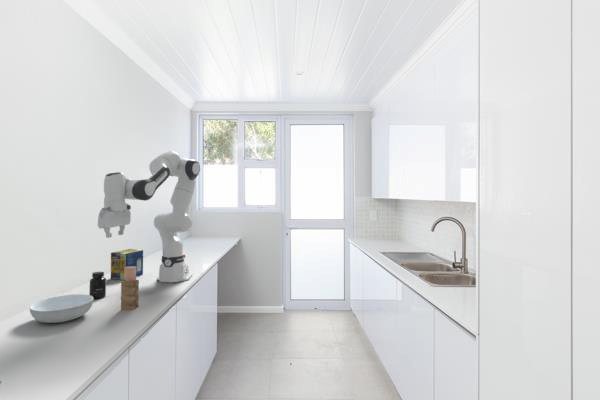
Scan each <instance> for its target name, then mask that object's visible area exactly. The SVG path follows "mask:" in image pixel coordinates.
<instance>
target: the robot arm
mask: <svg viewBox="0 0 600 400" xmlns="http://www.w3.org/2000/svg"><path fill="white" fill-rule="evenodd" d="M148 166H149V172H150V173H151V176H150V177H149V178H145V179H131V178H128V177H127V176H125V174H124V173H123V172H116V171H115V172H109V173H107V174H105V176H104V180H103V193H104V198H103V207H102V208H101V209H100V210H99V213H98V218H97V227H98V229H103V231H104V233H105V238H107V239H109V238H112V235H113V234H112V232H111V228H116V227H119V231H118V234H117V235H119V236H123V235H124V234H125V233H124V231H125V229H126V226H127V225H130V224H131V219H132V218H131V209H132V206H131V204H128V203H127V202H126V200H134V201H135V200H138V201H149V200H151V199H152V198H153V196H154V195H155V193H156V191H157V190H158V189H159V188H160V187H161V186H162V185H163V184H164V183H165V182H166V180H167V179H168V178H169V177H175V178H177V182H176V184H175V187H174V189H173V192H172V195H171V196H170V204H171V206H172V212H162V213H159V214H157V215H156V216H155V217H154V220H153V225H154V228H156V229H157V231H158V232H159V235H160V238H161V242H162V255H161V264H160V265H159V270H158V277H156V280H157V281H159V282H161V283H179V282H185V281H189V280H190V279H191V278H192V277H193V275H194V274H193V273H192V272H189V271H190V267H189V265H188V264H187V263H186V262H185V258H186V254H183V253H184V252H183V250H184V248H183V246H184V244H183V240H182V239H181V238H180V236H179V234H181V233H182V234H183V233H187V232H188V231H191V228H192V227H193V219H192V217H191V216H190V204H191V202H192V199H193V194H194V192H195V187H196V178H197V177H198V176H199V174H200V171H201V166H200V162H198V161H197V160H196V159H191V158H190V159H189V158H183V157H182V158H181V156H180V155H179V154H178V153H177V152H175V151H172V150H170V151H167V152H163V153H162V154H160V155H158V156H156V157H155V158H154V159H152V160H151V161H150V163H149V165H148ZM178 233H179V234H178Z"/></svg>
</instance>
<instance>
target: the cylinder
mask: <svg viewBox="0 0 600 400" xmlns="http://www.w3.org/2000/svg"><path fill="white" fill-rule="evenodd" d="M136 280H137V277H136V267H135V266H128V267H125V268H124V280H123V281H124V282H134V281H136Z"/></svg>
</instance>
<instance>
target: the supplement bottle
mask: <svg viewBox="0 0 600 400" xmlns="http://www.w3.org/2000/svg"><path fill="white" fill-rule="evenodd" d="M104 276H105V272H104V271H94V272H92V275H91V278H90V279H89V294H88V295H90V296H92V297H93V298H94V299H93V300H100V299H103V298H105V297H106V295H107V278H106V277H104Z"/></svg>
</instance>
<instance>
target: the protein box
mask: <svg viewBox="0 0 600 400" xmlns="http://www.w3.org/2000/svg"><path fill="white" fill-rule="evenodd" d="M128 266H135V267H136V276H137V277H140V276H142V274H144V250H143V249H137V248H136V249H134V248H127V249H123V250H118V251H113V252H110V279H111V280H121V281H124V268H125V267H128ZM139 275H140V276H139Z"/></svg>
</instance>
